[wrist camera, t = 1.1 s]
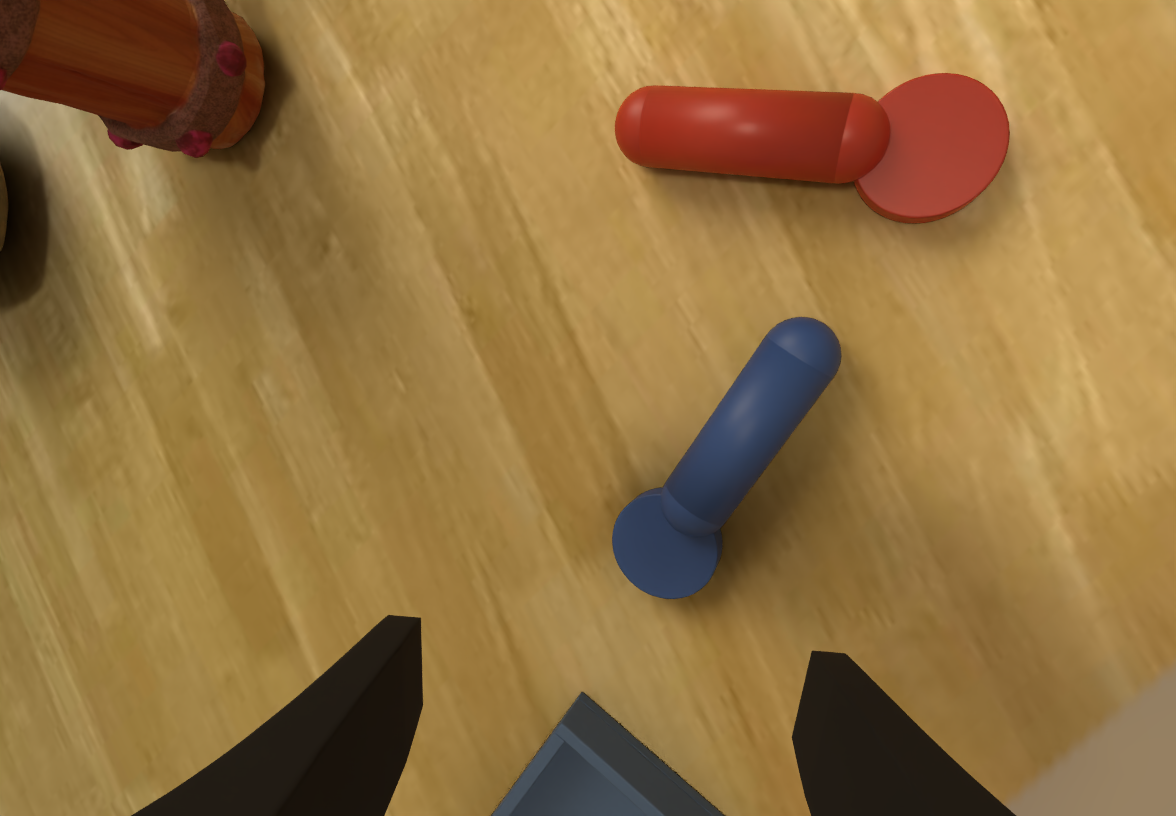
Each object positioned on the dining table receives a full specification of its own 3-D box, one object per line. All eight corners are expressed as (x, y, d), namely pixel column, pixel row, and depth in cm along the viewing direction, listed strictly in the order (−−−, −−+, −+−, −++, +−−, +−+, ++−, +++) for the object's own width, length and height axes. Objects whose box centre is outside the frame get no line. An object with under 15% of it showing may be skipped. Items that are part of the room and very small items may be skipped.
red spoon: (619, 192, 23) (594, 178, 21) (638, 75, 22) (615, 46, 20) (978, 230, 19) (999, 217, 17) (1018, 88, 18) (1046, 52, 16)
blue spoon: (772, 291, 22) (764, 287, 19) (877, 355, 20) (883, 359, 18) (602, 544, 25) (578, 567, 23) (684, 608, 24) (668, 639, 22)
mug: (302, -9, 28) (-232, -344, 14) (294, 176, 29) (-193, 42, 15) (102, 2, 33) (-434, -234, 19) (104, 159, 34) (-390, 47, 20)
